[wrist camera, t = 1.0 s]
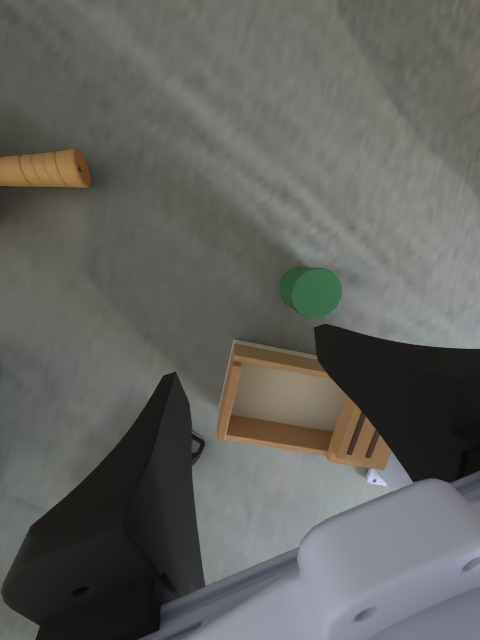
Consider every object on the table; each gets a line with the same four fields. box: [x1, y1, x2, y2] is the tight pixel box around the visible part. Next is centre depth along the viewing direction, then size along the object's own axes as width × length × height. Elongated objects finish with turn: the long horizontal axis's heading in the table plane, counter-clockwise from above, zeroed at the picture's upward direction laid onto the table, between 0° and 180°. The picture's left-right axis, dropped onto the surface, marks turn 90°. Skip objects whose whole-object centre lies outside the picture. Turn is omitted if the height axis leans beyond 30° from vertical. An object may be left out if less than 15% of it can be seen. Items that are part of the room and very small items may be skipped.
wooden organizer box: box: [216, 339, 392, 470], centre depth 26 cm, size 18×9×7 cm, turn 78°
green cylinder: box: [280, 267, 342, 319], centre depth 24 cm, size 4×4×6 cm
